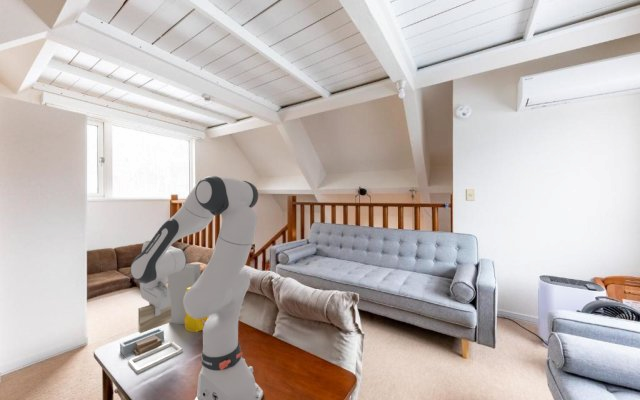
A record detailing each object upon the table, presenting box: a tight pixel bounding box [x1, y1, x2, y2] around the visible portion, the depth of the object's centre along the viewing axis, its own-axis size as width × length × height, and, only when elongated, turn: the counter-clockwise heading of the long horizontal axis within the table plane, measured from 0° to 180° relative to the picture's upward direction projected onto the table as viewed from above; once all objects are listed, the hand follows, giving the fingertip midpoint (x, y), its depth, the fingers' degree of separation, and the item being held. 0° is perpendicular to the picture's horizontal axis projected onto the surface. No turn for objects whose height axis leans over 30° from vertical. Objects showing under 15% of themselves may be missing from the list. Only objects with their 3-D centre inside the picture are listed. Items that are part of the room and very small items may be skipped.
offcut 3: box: [133, 343, 162, 356], centre depth 106 cm, size 5×9×1 cm, turn 143°
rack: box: [119, 327, 171, 361], centre depth 107 cm, size 12×15×4 cm
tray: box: [127, 340, 184, 374], centre depth 101 cm, size 10×16×2 cm, turn 143°
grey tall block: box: [167, 263, 201, 325], centre depth 130 cm, size 14×6×30 cm, turn 84°
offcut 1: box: [136, 336, 158, 348], centre depth 106 cm, size 4×7×1 cm, turn 137°
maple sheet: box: [137, 304, 171, 334], centre depth 101 cm, size 2×11×9 cm, turn 143°
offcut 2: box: [136, 337, 162, 352], centre depth 106 cm, size 4×8×1 cm, turn 147°
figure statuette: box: [184, 287, 208, 333], centre depth 122 cm, size 18×8×22 cm, turn 71°
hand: (155, 313), depth 101 cm, fingers closed on maple sheet, 2 cm apart
